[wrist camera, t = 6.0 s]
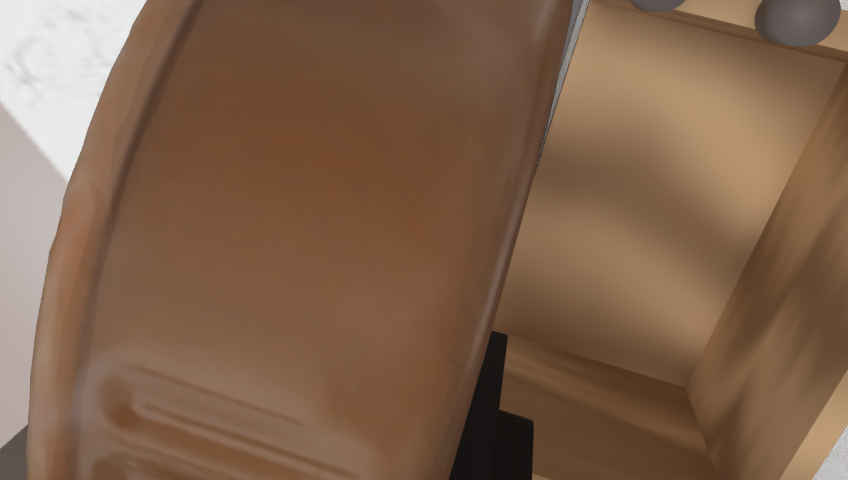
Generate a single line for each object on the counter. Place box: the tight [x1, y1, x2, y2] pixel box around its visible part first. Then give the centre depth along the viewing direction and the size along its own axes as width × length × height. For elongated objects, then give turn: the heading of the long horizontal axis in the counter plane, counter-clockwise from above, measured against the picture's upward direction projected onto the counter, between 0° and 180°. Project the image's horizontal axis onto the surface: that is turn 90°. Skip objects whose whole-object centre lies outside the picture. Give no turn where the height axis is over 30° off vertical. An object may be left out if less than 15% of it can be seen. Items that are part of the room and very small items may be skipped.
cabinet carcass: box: [492, 0, 848, 480], centre depth 20 cm, size 16×10×10 cm, turn 167°
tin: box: [26, 0, 573, 480], centre depth 8 cm, size 15×3×8 cm, turn 167°
